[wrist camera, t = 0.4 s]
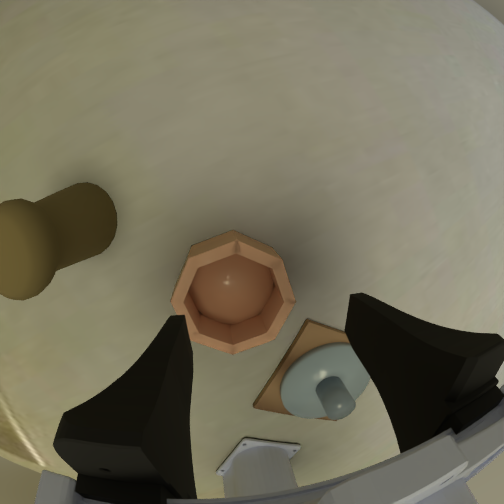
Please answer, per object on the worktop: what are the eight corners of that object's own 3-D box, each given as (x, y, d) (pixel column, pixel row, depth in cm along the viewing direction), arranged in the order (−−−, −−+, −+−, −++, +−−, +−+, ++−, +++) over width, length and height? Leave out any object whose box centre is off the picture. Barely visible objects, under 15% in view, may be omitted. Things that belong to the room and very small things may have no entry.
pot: (254, 339, 24) (260, 363, 21) (166, 307, 22) (159, 328, 19) (297, 258, 23) (312, 272, 19) (203, 216, 21) (202, 224, 18)
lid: (335, 416, 28) (348, 443, 24) (262, 404, 26) (271, 437, 21) (383, 352, 26) (404, 377, 22) (311, 330, 24) (329, 359, 20)
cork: (96, 167, 19) (8, 167, 8) (130, 235, 20) (65, 290, 10) (44, 206, 19) (-47, 234, 8) (75, 269, 20) (1, 333, 10)
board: (334, 417, 29) (336, 420, 28) (252, 404, 26) (253, 408, 26) (388, 346, 27) (390, 348, 26) (306, 318, 24) (308, 322, 24)
